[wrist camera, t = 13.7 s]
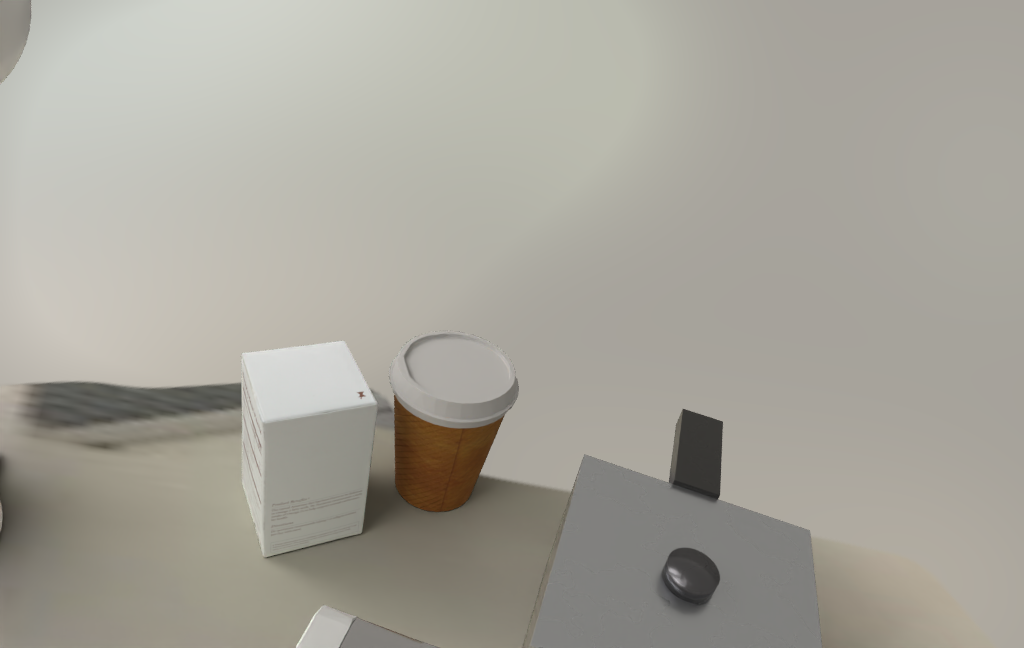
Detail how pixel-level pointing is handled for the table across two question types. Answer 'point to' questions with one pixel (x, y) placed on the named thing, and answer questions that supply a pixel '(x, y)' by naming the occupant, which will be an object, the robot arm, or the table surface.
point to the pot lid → (675, 561)
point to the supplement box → (305, 444)
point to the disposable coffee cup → (447, 414)
